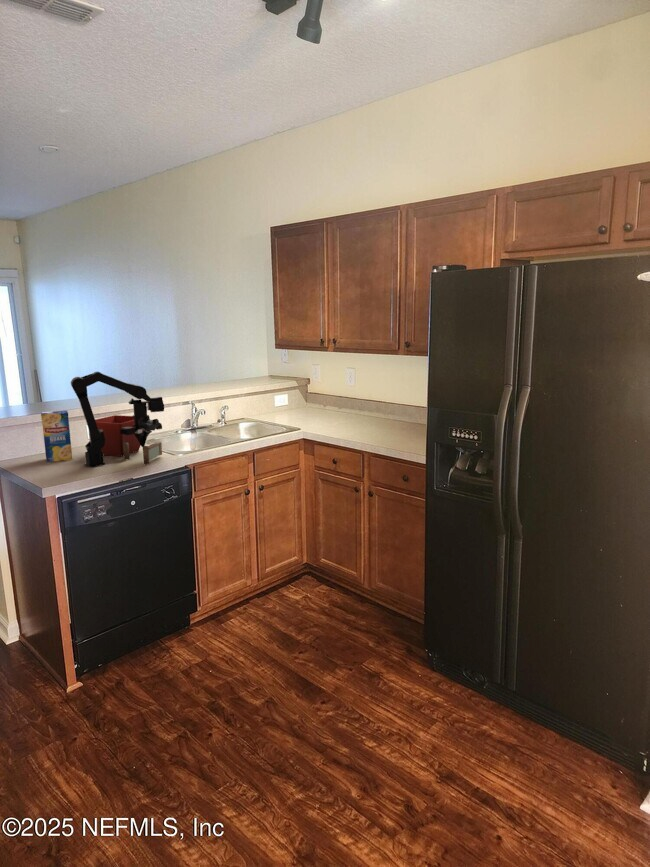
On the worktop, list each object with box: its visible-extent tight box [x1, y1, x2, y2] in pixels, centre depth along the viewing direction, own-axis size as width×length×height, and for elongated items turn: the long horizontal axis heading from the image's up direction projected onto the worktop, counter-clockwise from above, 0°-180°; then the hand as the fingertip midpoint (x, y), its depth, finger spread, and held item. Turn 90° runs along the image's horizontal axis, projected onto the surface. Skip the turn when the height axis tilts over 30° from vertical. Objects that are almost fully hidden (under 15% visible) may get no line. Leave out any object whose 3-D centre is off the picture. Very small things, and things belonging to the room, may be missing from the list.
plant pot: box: [95, 414, 141, 457], centre depth 273 cm, size 19×19×17 cm
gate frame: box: [123, 443, 150, 466], centre depth 258 cm, size 2×17×8 cm, turn 52°
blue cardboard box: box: [40, 410, 73, 463], centre depth 261 cm, size 7×11×22 cm, turn 117°
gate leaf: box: [147, 441, 163, 461], centre depth 260 cm, size 2×12×6 cm, turn 169°
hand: (142, 446), depth 261 cm, fingers closed
